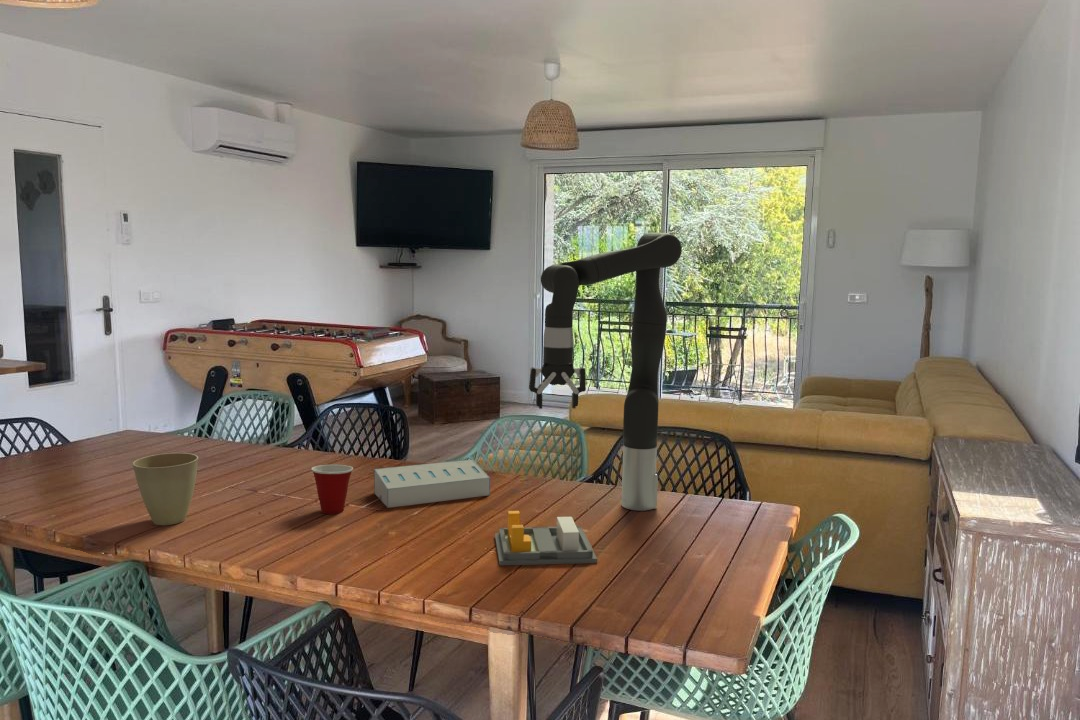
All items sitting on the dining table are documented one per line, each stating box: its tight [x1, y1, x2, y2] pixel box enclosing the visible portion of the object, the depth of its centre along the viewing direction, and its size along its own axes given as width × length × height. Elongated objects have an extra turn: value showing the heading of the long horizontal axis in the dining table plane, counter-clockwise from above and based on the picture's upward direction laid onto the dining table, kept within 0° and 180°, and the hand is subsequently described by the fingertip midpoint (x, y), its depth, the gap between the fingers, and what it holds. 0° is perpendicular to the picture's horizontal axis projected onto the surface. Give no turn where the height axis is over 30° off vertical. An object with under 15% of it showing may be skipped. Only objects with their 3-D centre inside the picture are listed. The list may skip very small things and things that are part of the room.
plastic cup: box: [311, 464, 354, 515], centre depth 209 cm, size 11×11×12 cm
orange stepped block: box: [507, 510, 531, 552], centre depth 183 cm, size 12×4×6 cm, turn 7°
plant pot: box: [132, 452, 199, 526], centre depth 198 cm, size 15×15×16 cm
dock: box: [494, 516, 598, 566], centre depth 184 cm, size 22×18×6 cm
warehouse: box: [373, 458, 491, 509], centre depth 226 cm, size 30×14×8 cm, turn 116°
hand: (556, 408), depth 200 cm, fingers open, 8 cm apart
